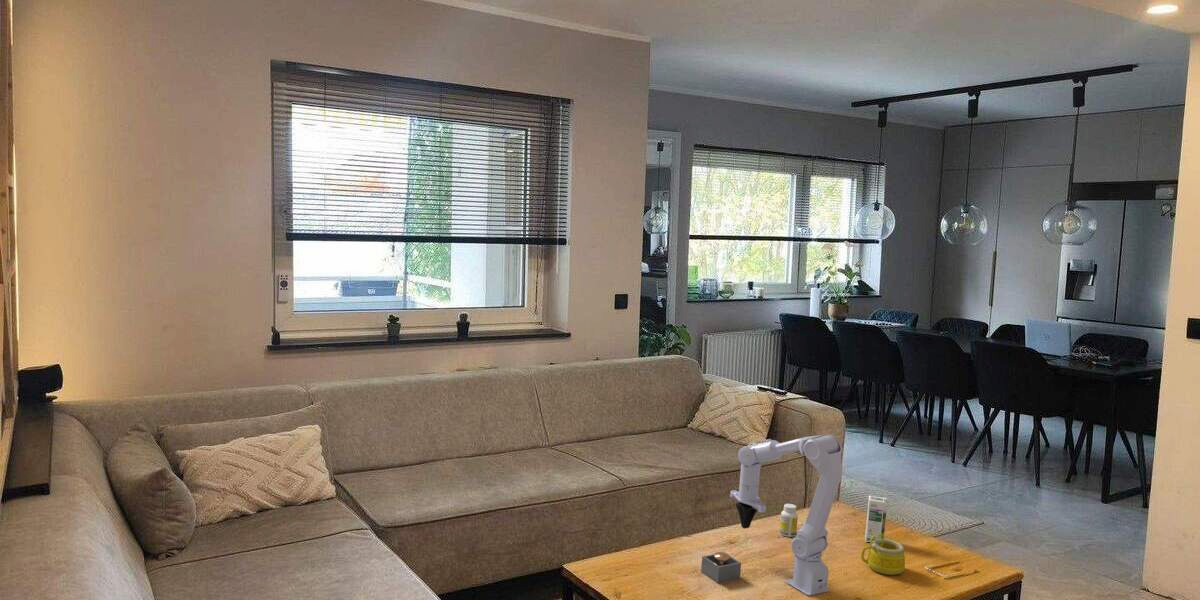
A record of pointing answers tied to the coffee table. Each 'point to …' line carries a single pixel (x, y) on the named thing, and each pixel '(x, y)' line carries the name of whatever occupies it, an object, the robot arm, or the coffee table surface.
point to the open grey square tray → (720, 569)
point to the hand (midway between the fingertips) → (745, 527)
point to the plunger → (721, 557)
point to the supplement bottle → (788, 521)
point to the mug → (885, 556)
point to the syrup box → (876, 517)
